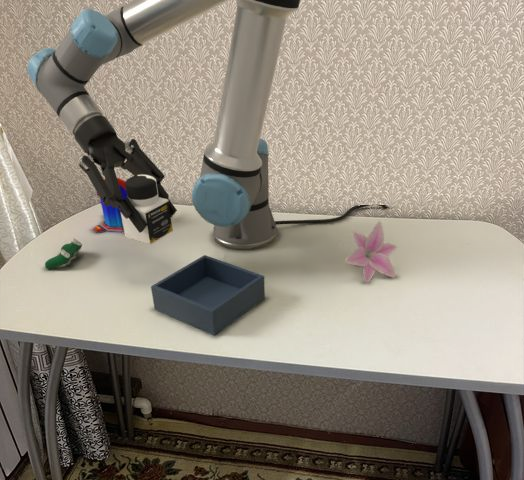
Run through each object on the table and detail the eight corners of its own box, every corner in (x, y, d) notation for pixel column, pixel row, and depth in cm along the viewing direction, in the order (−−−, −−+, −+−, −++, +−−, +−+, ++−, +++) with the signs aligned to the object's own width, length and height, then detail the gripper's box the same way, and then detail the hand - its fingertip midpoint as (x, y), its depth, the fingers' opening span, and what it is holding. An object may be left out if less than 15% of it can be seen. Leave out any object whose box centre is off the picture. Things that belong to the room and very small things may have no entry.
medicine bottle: (150, 245, 113) (141, 187, 105) (124, 237, 116) (113, 180, 109) (173, 231, 117) (166, 175, 110) (147, 224, 121) (138, 169, 113)
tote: (206, 276, 121) (204, 254, 118) (264, 298, 113) (264, 275, 110) (154, 309, 111) (150, 286, 108) (214, 335, 103) (212, 311, 100)
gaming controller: (55, 277, 126) (69, 262, 122) (41, 266, 124) (54, 250, 121) (74, 258, 133) (87, 243, 129) (61, 247, 132) (74, 232, 128)
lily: (333, 285, 119) (352, 258, 111) (335, 242, 125) (352, 213, 116) (385, 298, 121) (407, 272, 113) (384, 255, 127) (405, 228, 119)
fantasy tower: (90, 232, 140) (79, 185, 133) (107, 213, 149) (98, 168, 142) (135, 234, 138) (127, 187, 131) (149, 214, 148) (143, 169, 140)
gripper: (121, 125, 120) (185, 213, 122) (40, 151, 107) (113, 249, 109) (134, 102, 114) (201, 194, 116) (50, 127, 102) (127, 230, 103)
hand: (158, 221), depth 113 cm, fingers closed on medicine bottle, 8 cm apart
